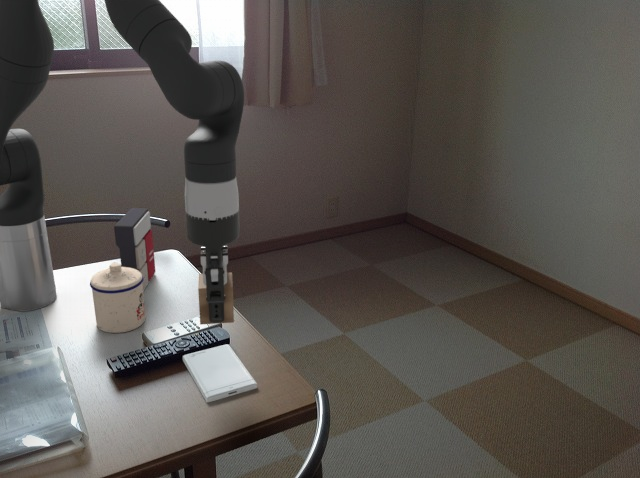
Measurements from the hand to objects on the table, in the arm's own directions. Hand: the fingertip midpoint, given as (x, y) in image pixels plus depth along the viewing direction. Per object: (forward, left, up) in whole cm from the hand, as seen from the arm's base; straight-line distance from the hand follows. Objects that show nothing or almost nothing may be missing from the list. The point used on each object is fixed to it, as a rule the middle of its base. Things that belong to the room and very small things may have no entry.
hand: (216, 311), depth 90 cm
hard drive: (0, 0, -12) cm, 12 cm away
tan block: (0, 0, -1) cm, 1 cm away
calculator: (-16, +34, -12) cm, 39 cm away
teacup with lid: (-18, +20, -12) cm, 29 cm away
